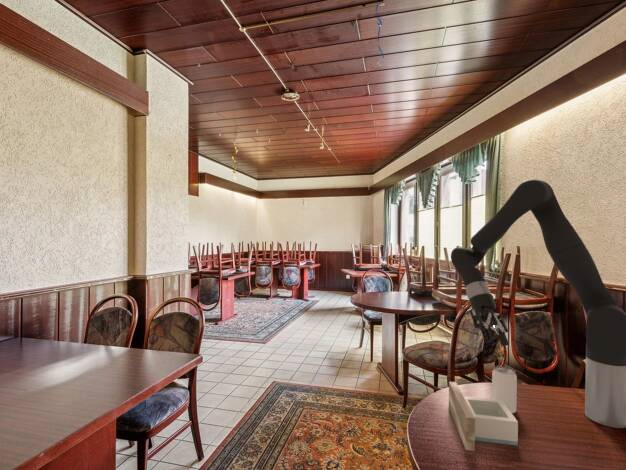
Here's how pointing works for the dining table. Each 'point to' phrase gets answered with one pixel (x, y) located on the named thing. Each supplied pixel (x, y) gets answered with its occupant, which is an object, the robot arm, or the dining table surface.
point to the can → (505, 386)
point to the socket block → (493, 421)
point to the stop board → (462, 416)
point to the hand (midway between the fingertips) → (497, 343)
